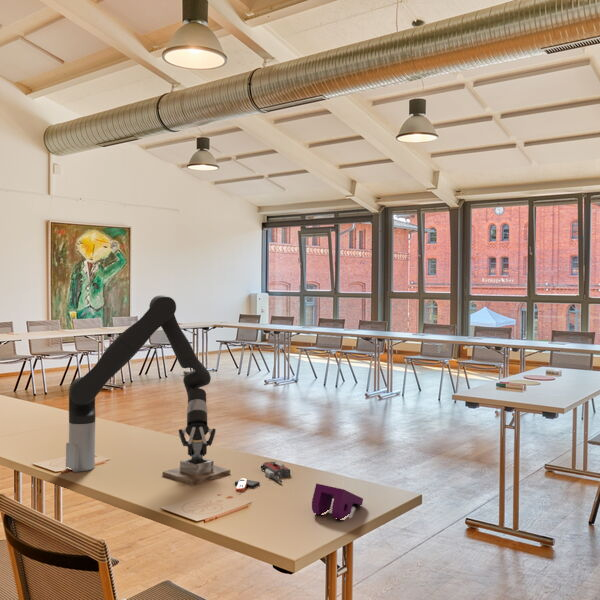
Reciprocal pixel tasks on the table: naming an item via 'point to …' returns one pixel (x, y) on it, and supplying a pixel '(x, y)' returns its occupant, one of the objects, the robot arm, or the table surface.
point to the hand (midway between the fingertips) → (197, 454)
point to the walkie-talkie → (275, 470)
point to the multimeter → (245, 484)
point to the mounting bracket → (340, 503)
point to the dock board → (196, 472)
